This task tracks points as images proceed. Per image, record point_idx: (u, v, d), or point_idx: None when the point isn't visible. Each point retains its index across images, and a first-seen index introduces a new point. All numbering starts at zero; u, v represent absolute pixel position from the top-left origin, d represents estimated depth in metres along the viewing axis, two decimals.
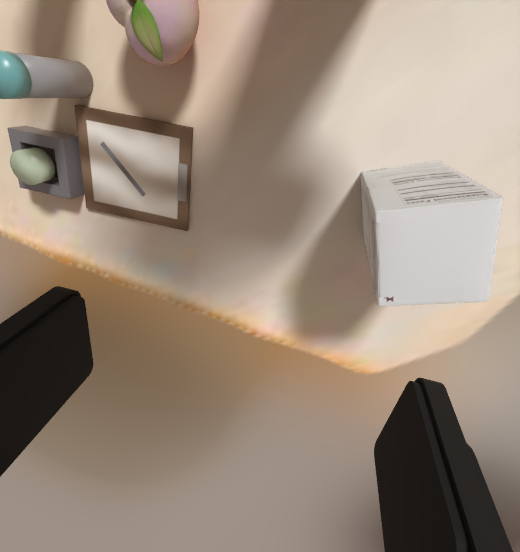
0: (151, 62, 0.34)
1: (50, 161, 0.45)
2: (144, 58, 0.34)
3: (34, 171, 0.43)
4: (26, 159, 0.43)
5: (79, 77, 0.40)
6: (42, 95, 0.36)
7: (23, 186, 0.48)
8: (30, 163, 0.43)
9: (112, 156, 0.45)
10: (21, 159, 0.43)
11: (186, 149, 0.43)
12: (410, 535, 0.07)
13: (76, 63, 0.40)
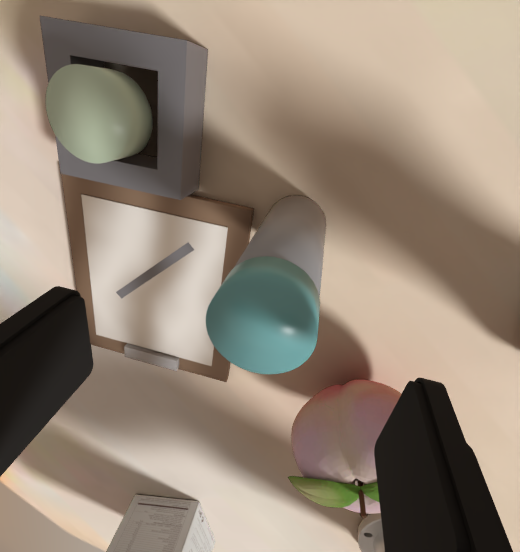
0: (293, 438, 0.23)
1: (127, 156, 0.19)
2: (297, 439, 0.22)
3: (84, 142, 0.17)
4: (108, 129, 0.16)
5: None
6: None
7: (45, 30, 0.17)
8: (101, 138, 0.17)
9: (171, 259, 0.25)
10: (104, 112, 0.16)
11: (198, 369, 0.30)
12: (410, 535, 0.07)
13: None
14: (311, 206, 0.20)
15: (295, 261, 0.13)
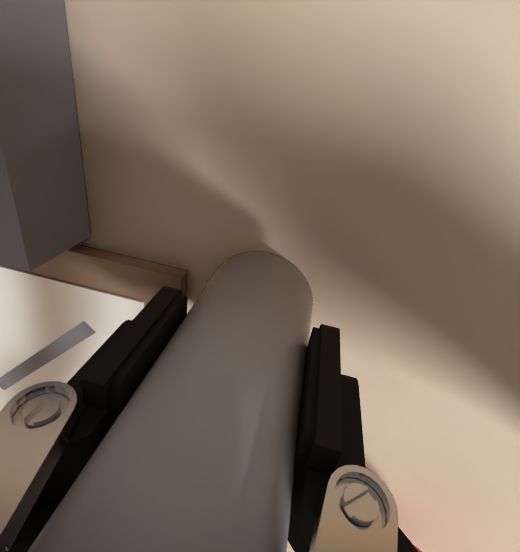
0: None
1: None
2: None
3: None
4: None
5: None
6: None
7: None
8: None
9: (63, 343, 0.15)
10: None
11: None
12: None
13: None
14: (282, 280, 0.11)
15: None
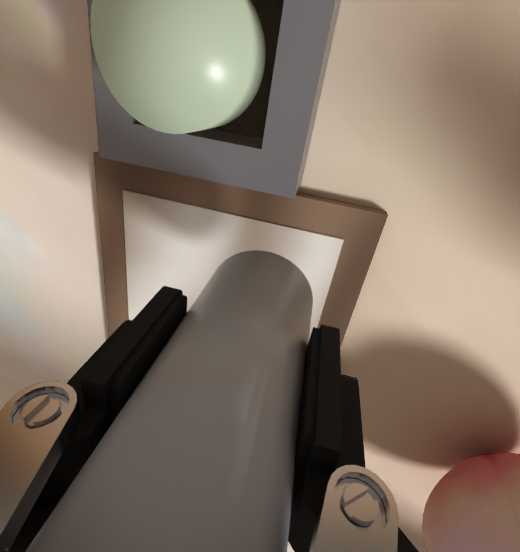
0: None
1: None
2: None
3: (158, 95, 0.09)
4: (206, 68, 0.09)
5: None
6: None
7: None
8: (191, 85, 0.09)
9: None
10: (203, 33, 0.09)
11: None
12: None
13: None
14: (283, 278, 0.11)
15: None
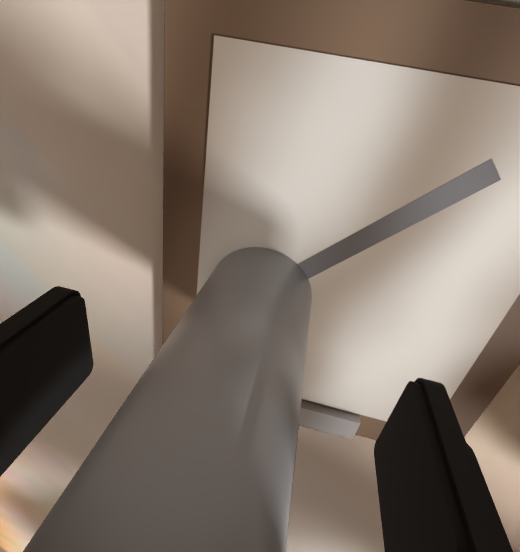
0: None
1: None
2: None
3: None
4: None
5: None
6: None
7: None
8: None
9: (422, 207, 0.10)
10: None
11: None
12: (410, 535, 0.07)
13: None
14: (282, 274, 0.11)
15: None
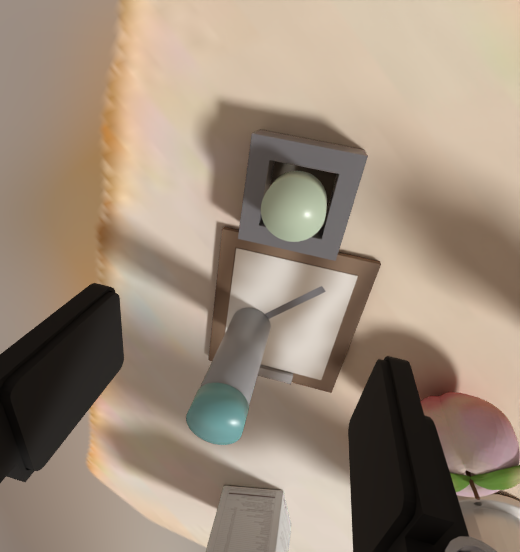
0: None
1: None
2: None
3: (286, 227, 0.23)
4: (308, 220, 0.22)
5: None
6: None
7: (254, 143, 0.23)
8: (300, 225, 0.23)
9: (304, 297, 0.31)
10: (308, 209, 0.22)
11: (308, 383, 0.36)
12: (371, 497, 0.07)
13: None
14: (258, 319, 0.31)
15: (234, 384, 0.24)
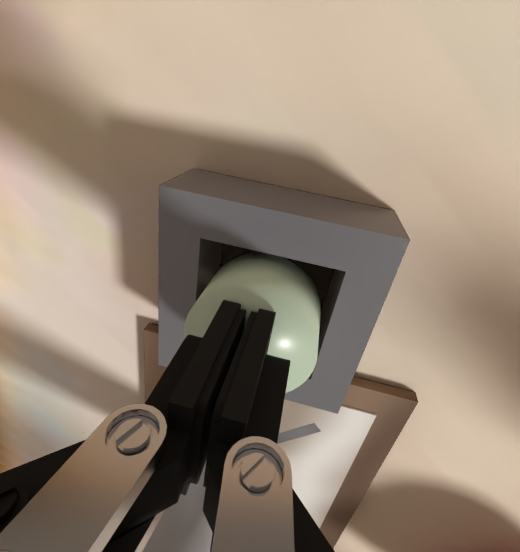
0: None
1: None
2: None
3: None
4: None
5: None
6: None
7: (166, 204, 0.11)
8: None
9: (285, 436, 0.19)
10: (281, 346, 0.10)
11: None
12: None
13: None
14: None
15: None
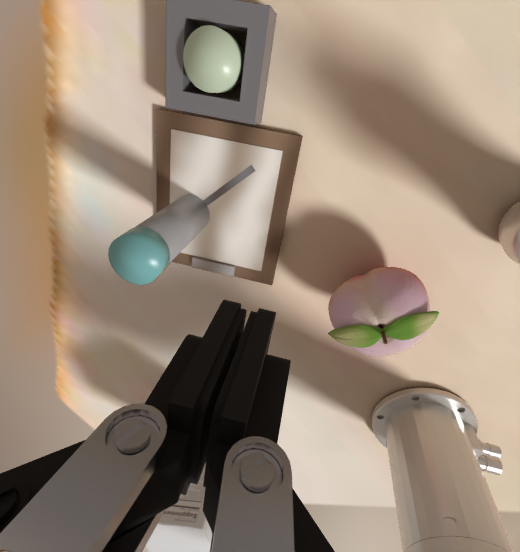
0: (331, 307, 0.31)
1: (225, 91, 0.28)
2: (335, 305, 0.31)
3: (206, 78, 0.26)
4: (223, 68, 0.26)
5: None
6: None
7: (169, 0, 0.25)
8: (218, 74, 0.26)
9: (236, 179, 0.33)
10: (222, 56, 0.25)
11: (250, 275, 0.38)
12: None
13: (203, 227, 0.35)
14: (194, 201, 0.33)
15: (155, 229, 0.26)
